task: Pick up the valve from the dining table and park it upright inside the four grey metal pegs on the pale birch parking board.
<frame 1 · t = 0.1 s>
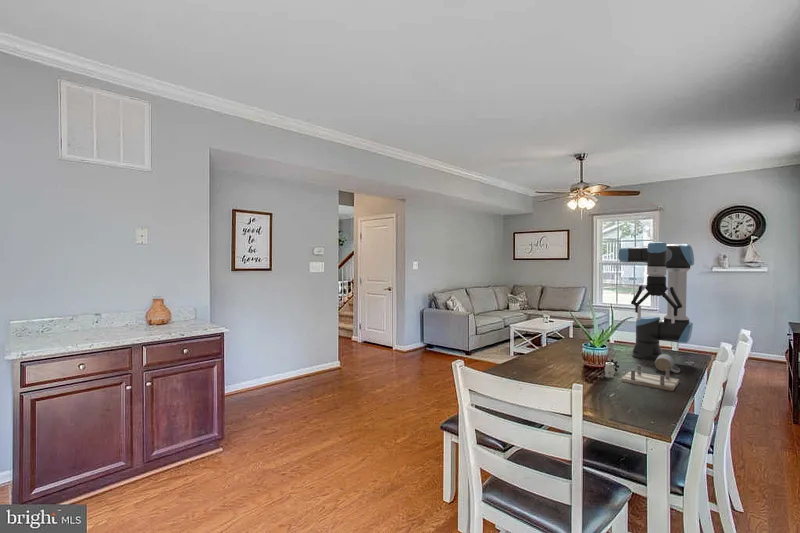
hand: (655, 321, 191), 28 cm above the table, fingers open, 13 cm apart
valve: (610, 375, 202), on the table
peg board: (650, 381, 190), on the table
ceramic mug: (667, 371, 209), on the table
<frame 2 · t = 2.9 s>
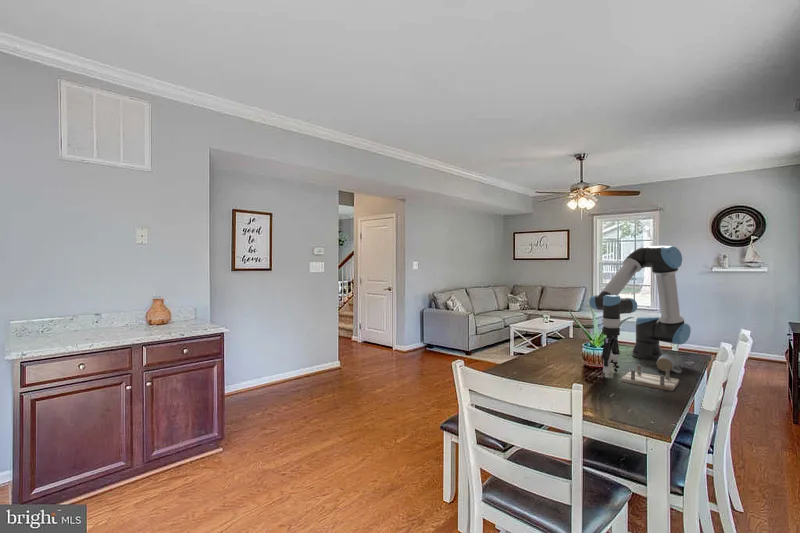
hand: (610, 370, 202), 2 cm above the table, fingers open, 13 cm apart
valve: (610, 375, 201), on the table, touching gripper
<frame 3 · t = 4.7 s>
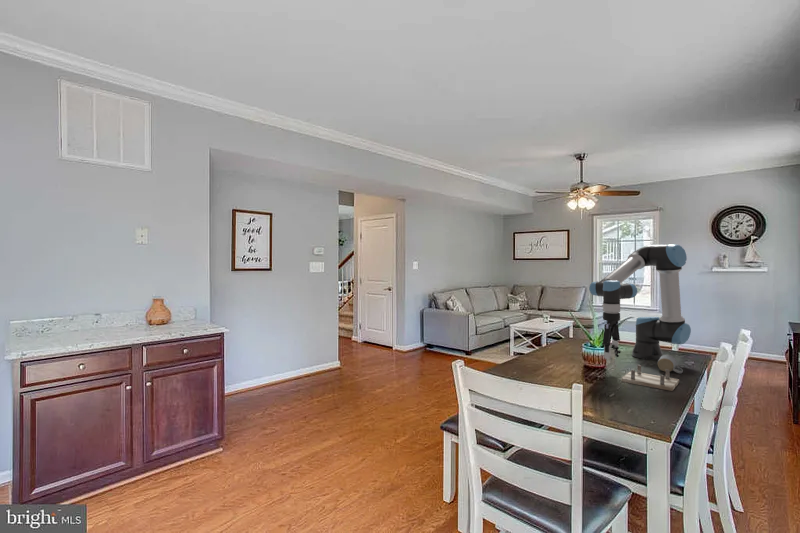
hand: (611, 356, 202), 9 cm above the table, fingers closed on valve, 12 cm apart
valve: (611, 361, 201), point 7 cm above the table, touching gripper
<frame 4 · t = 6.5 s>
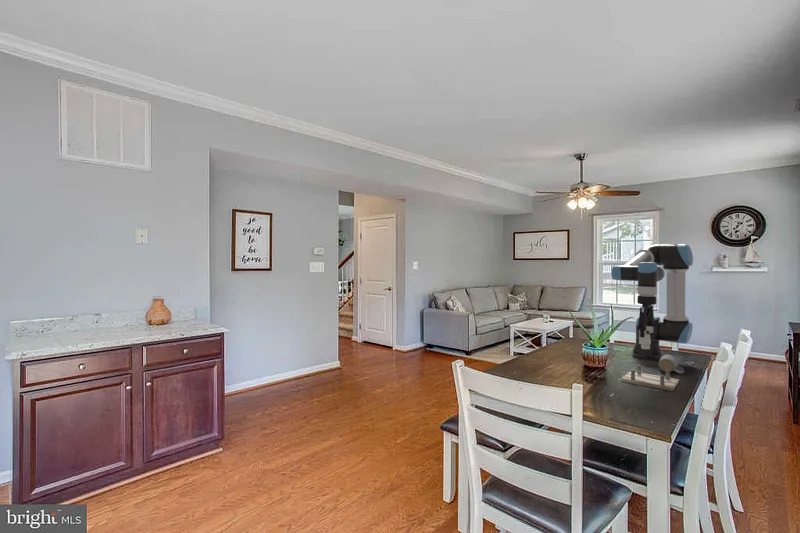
hand: (646, 342, 191), 18 cm above the table, fingers closed on valve, 12 cm apart
valve: (646, 347, 191), point 16 cm above the table, touching gripper
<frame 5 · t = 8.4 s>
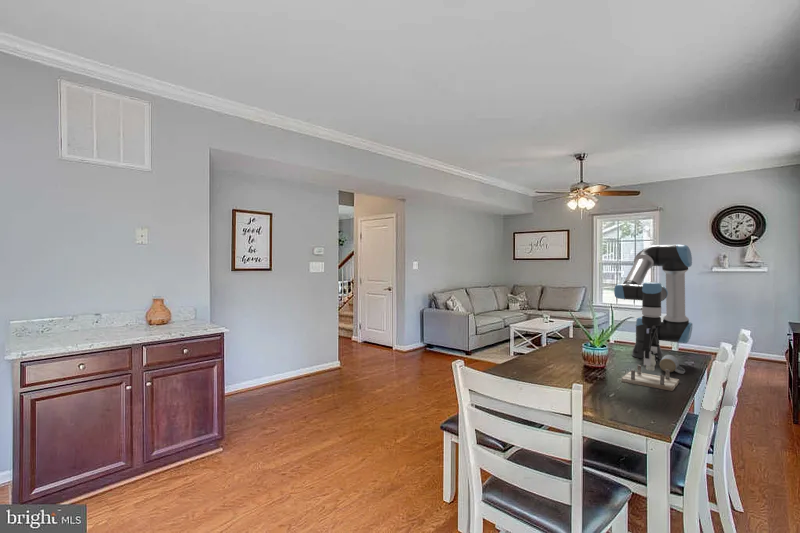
hand: (650, 362, 190), 9 cm above the table, fingers closed on valve, 12 cm apart
valve: (650, 367, 190), point 7 cm above the table, touching gripper
when the fingers open (5 cm above the table, at t = 9.9 s): valve drops 1 cm, resting on peg board.
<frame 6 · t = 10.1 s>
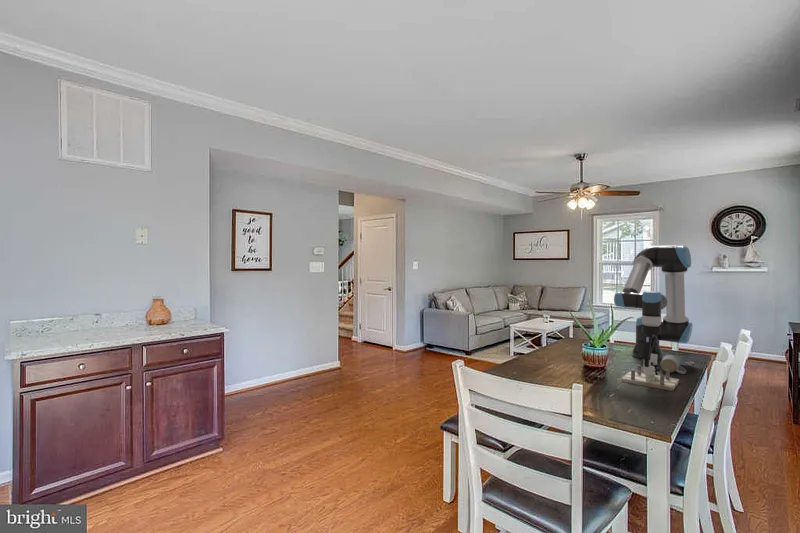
hand: (650, 370, 190), 5 cm above the table, fingers open, 13 cm apart
valve: (650, 379, 190), point 1 cm above the table, touching peg board
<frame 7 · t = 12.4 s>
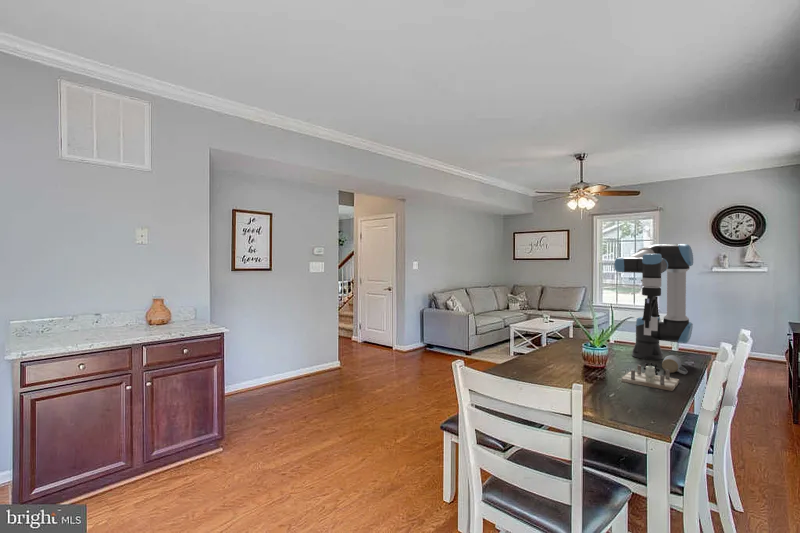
hand: (650, 332, 190), 23 cm above the table, fingers open, 13 cm apart
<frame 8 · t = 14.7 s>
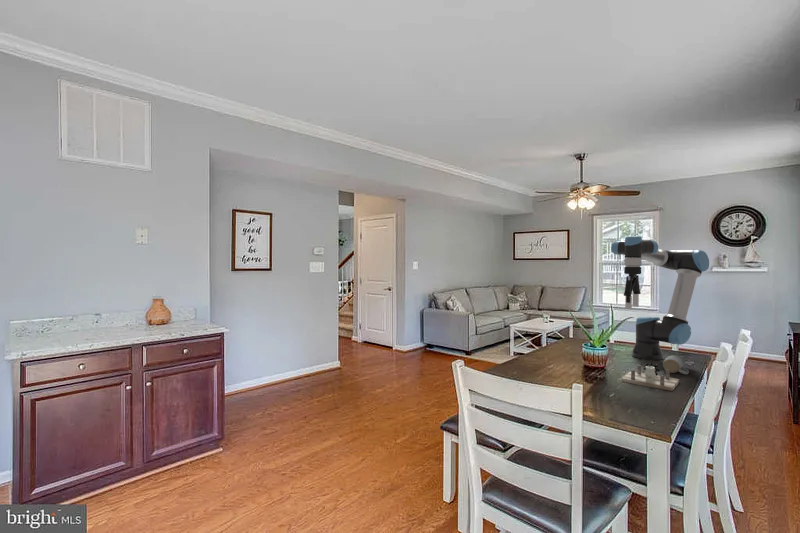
hand: (632, 307, 210), 32 cm above the table, fingers open, 13 cm apart
at the end: valve 0.9 cm off-centre on the peg board, point 1.3 cm above the peg board's base; valve touching peg board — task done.
